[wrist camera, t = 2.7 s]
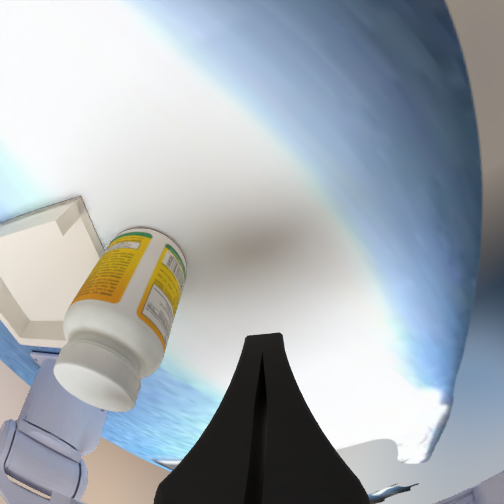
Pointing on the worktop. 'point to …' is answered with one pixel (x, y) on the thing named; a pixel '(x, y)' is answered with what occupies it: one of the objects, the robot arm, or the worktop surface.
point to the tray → (45, 269)
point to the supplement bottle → (121, 320)
